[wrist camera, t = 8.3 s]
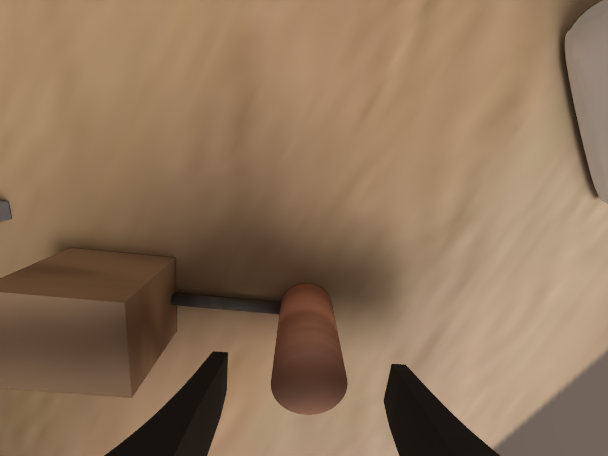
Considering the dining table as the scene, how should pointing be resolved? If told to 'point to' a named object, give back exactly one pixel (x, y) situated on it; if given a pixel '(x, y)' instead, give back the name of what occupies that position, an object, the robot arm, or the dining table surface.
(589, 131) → the photo printer
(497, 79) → the dining table surface
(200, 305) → the tethered block
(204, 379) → the robot arm
